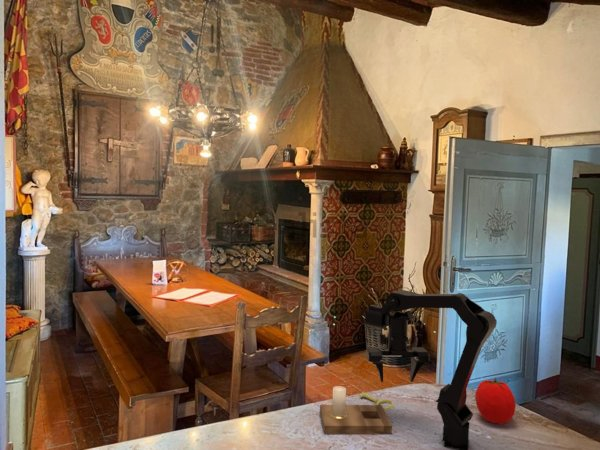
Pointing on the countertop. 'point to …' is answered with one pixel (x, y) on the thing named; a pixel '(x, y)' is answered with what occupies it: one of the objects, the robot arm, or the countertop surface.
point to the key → (378, 401)
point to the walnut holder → (356, 420)
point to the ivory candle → (339, 401)
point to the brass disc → (338, 417)
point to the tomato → (495, 401)
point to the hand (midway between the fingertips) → (396, 381)
